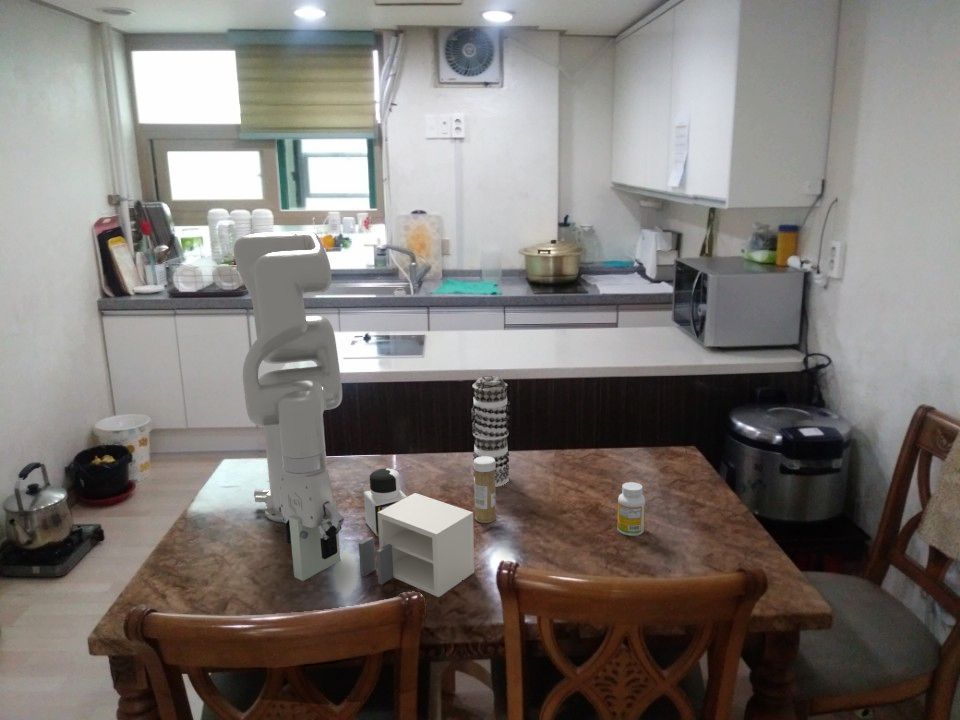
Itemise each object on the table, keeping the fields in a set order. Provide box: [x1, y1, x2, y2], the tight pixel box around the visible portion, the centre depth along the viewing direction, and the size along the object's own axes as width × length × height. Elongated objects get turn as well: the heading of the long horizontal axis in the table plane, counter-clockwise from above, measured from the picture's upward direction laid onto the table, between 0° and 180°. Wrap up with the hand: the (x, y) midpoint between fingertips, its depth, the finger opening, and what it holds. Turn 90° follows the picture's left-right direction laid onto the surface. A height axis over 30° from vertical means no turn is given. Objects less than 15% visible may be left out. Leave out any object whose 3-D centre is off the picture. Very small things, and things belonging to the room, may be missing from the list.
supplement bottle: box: [616, 481, 646, 537], centre depth 147 cm, size 5×5×10 cm
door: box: [289, 501, 341, 582], centre depth 134 cm, size 3×9×12 cm, turn 143°
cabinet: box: [358, 492, 475, 598], centre depth 132 cm, size 16×13×12 cm
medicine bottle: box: [363, 468, 408, 537], centre depth 150 cm, size 7×7×12 cm
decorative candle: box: [470, 375, 511, 488], centre depth 170 cm, size 9×9×25 cm
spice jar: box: [473, 456, 497, 524], centre depth 152 cm, size 5×5×13 cm
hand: (311, 548), depth 133 cm, fingers open, 9 cm apart
